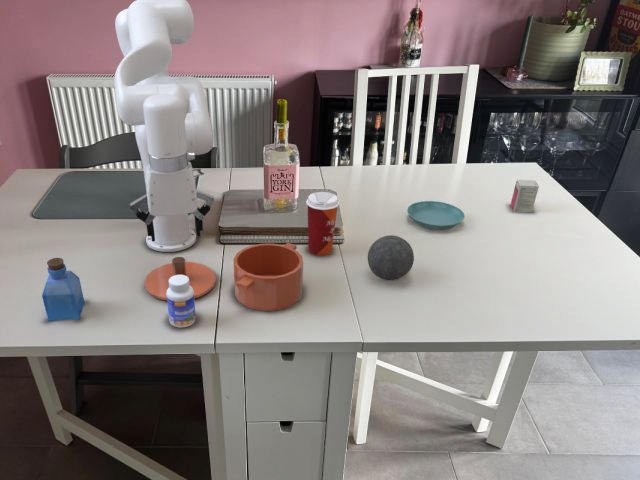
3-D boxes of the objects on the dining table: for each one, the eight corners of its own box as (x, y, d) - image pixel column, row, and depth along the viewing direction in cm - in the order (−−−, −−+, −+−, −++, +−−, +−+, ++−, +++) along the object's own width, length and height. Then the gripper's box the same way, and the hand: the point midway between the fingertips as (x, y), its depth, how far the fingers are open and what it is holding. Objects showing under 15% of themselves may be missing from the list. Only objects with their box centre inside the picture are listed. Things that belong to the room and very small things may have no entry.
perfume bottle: (54, 303, 121) (42, 254, 114) (84, 302, 121) (74, 253, 115) (48, 321, 116) (35, 270, 109) (79, 319, 116) (68, 268, 110)
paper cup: (334, 259, 135) (338, 205, 128) (302, 256, 137) (304, 202, 129) (337, 244, 142) (340, 191, 134) (306, 241, 143) (308, 189, 136)
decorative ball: (402, 293, 123) (409, 253, 117) (359, 281, 127) (363, 242, 122) (416, 272, 130) (422, 233, 125) (374, 262, 134) (378, 224, 129)
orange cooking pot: (214, 303, 120) (212, 271, 116) (264, 263, 134) (264, 232, 130) (272, 325, 114) (272, 292, 109) (319, 280, 128) (321, 249, 123)
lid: (130, 289, 125) (127, 265, 122) (176, 259, 136) (174, 236, 133) (185, 311, 118) (183, 286, 115) (229, 278, 129) (228, 254, 126)
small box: (528, 206, 159) (535, 180, 155) (532, 213, 156) (539, 186, 151) (509, 205, 160) (516, 179, 156) (512, 211, 156) (519, 185, 152)
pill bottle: (176, 331, 112) (171, 290, 107) (165, 318, 116) (160, 277, 111) (200, 322, 115) (197, 282, 109) (188, 309, 118) (185, 269, 113)
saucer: (401, 228, 149) (402, 219, 147) (410, 206, 160) (412, 197, 159) (460, 238, 144) (462, 228, 142) (465, 214, 155) (467, 205, 154)
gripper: (209, 150, 116) (213, 223, 126) (123, 156, 114) (134, 231, 123) (214, 164, 110) (218, 240, 120) (124, 171, 108) (135, 249, 117)
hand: (175, 236), depth 122 cm, fingers open, 9 cm apart
